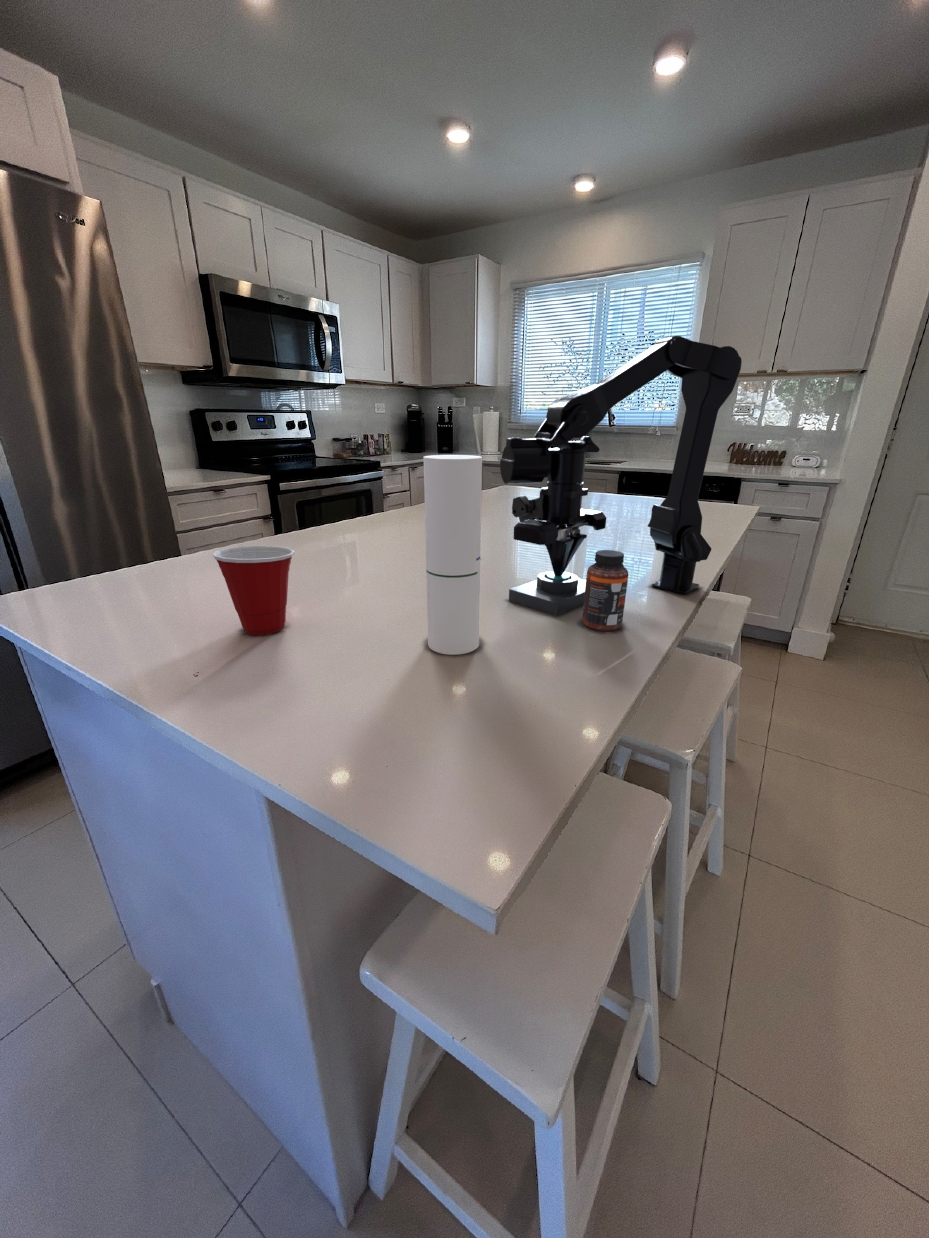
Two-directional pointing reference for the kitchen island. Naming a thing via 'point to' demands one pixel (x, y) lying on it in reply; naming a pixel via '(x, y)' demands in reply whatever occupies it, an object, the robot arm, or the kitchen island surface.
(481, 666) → the kitchen island surface
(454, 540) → the cylindrical container
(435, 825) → the kitchen island surface
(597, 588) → the supplement bottle
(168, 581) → the kitchen island surface
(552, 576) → the lid button
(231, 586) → the plastic cup
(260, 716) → the kitchen island surface
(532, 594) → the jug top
